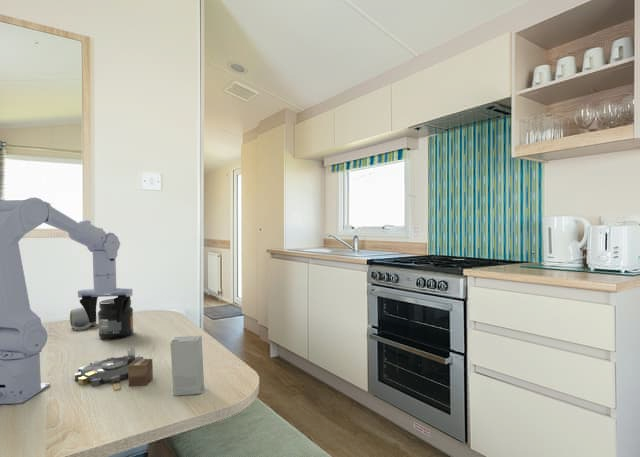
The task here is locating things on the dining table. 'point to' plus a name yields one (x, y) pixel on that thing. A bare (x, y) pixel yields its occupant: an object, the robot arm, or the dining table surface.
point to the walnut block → (140, 372)
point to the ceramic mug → (80, 319)
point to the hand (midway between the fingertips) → (106, 321)
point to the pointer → (116, 386)
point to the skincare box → (187, 365)
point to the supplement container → (114, 321)
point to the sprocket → (106, 370)
